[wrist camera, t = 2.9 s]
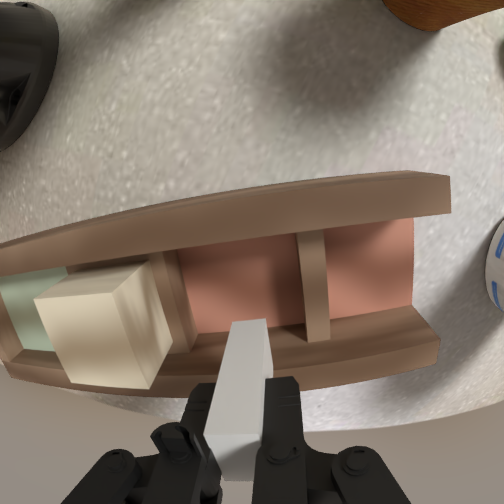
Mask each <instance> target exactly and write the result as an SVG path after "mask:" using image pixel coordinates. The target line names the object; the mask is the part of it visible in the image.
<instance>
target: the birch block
mask: <svg viewBox="0 0 504 504" xmlns="http://www.w3.org/2000/svg"><path fill="white" fill-rule="evenodd" d="M33 300H34V302H35V305H36V308H37V310H38V313H39V315H40V318H41V320H42V323H43V325H44V327H45V330H46V332H47V334H48V337H49V339H50V341H51V343H52V345H53V348H54V350H55V352H56V354H57V356H58V358H59V360H60V362H61V364H62V366H63V368H64V370H65V372H66V374H67V376H68V378H69V379H70V381H71V383H78V384H86V385H96V386H106V387H118V388H133V389H150V387H151V385H152V383H153V381H154V379H155V377H156V375H157V373H158V371H159V369H160V367H161V365H162V363H163V361H164V359H165V357H166V355H167V353H168V351H169V349H170V347H171V345H172V343H173V340H172V337H171V334H170V331H169V328H168V325H167V322H166V318H165V315H164V312H163V308H162V305H161V302H160V298H159V295H158V291H157V288H156V284H155V280H154V277H153V273H152V269H151V265H150V261H149V259H148V260H141V261H134V262H127V263H120V264H113V265H106V266H99V267H92V268H85V269H79V270H75V271H74V272H72V273H71V274H69V275H68V276H66V277H65V278H63V279H62V280H60V281H59V282H57V283H56V284H54V285H53V286H51V287H50V288H49V289H47V290H46V291H44V292H43V293H41V294H40V295H38V296H37V297H36V298H34V299H33Z"/></svg>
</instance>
